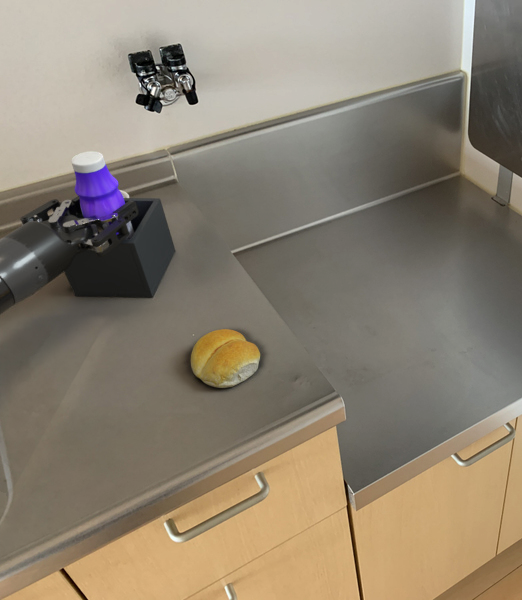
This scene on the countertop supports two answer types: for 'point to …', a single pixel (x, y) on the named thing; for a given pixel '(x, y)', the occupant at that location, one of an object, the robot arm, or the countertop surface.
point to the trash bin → (127, 258)
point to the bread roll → (224, 358)
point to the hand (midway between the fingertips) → (114, 200)
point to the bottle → (97, 188)
